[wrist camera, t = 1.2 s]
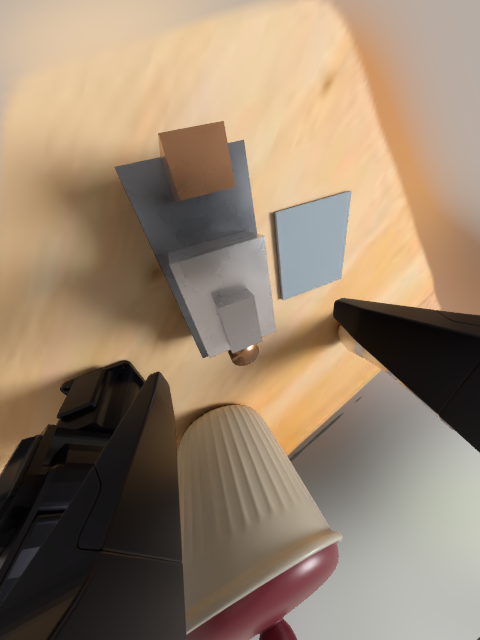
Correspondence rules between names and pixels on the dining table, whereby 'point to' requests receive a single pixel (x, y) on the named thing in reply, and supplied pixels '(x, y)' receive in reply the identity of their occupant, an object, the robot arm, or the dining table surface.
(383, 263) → the dining table surface
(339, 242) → the rubber pad
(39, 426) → the dining table surface
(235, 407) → the canister
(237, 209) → the body
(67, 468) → the robot arm
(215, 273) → the lever cap
